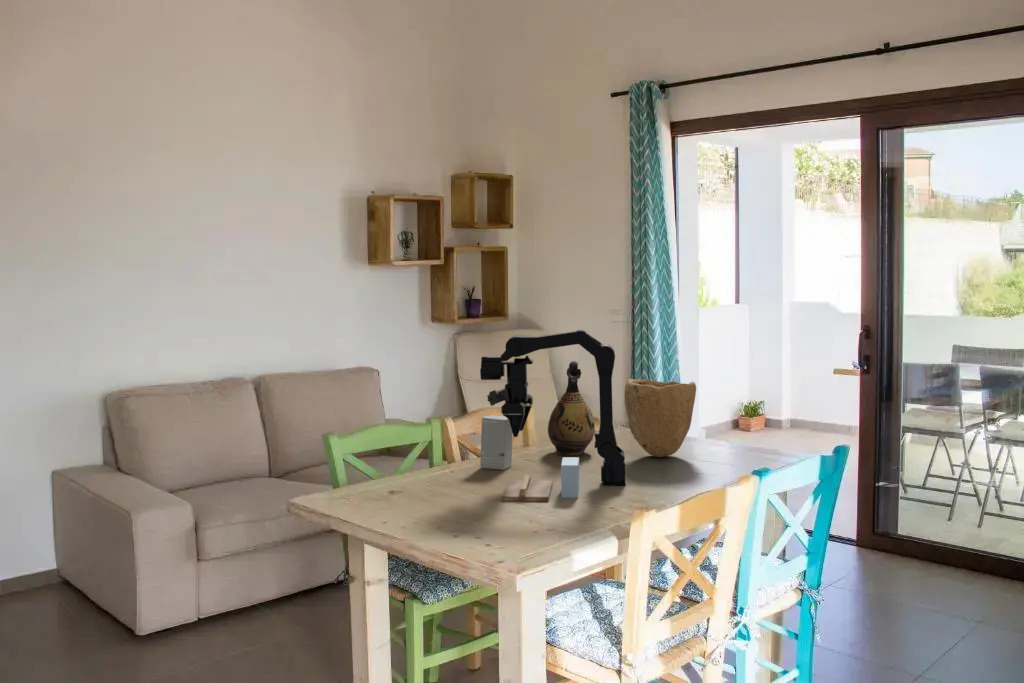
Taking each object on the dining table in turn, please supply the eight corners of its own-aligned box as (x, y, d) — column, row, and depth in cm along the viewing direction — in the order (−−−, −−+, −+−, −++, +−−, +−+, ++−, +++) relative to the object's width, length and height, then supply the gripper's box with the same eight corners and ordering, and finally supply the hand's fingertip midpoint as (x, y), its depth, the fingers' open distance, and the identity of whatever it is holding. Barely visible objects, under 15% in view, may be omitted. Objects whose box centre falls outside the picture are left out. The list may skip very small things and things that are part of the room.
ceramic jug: (596, 457, 315) (596, 364, 312) (548, 457, 315) (547, 365, 312) (593, 446, 332) (592, 358, 329) (547, 447, 332) (546, 359, 329)
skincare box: (480, 468, 301) (479, 417, 300) (489, 463, 308) (488, 414, 306) (505, 470, 298) (504, 419, 296) (514, 465, 304) (513, 415, 303)
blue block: (579, 489, 274) (579, 457, 273) (578, 498, 264) (577, 465, 264) (563, 488, 275) (562, 457, 274) (561, 498, 265) (561, 465, 264)
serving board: (552, 484, 279) (552, 474, 279) (548, 501, 261) (548, 490, 261) (509, 484, 280) (508, 474, 280) (502, 500, 263) (501, 489, 262)
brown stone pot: (707, 454, 317) (707, 377, 314) (680, 467, 298) (680, 386, 296) (643, 447, 329) (643, 373, 326) (613, 460, 310) (613, 381, 308)
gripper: (495, 375, 290) (496, 427, 292) (482, 384, 272) (484, 439, 273) (532, 375, 288) (533, 427, 290) (522, 384, 270) (523, 440, 271)
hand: (518, 433), depth 281 cm, fingers open, 9 cm apart
